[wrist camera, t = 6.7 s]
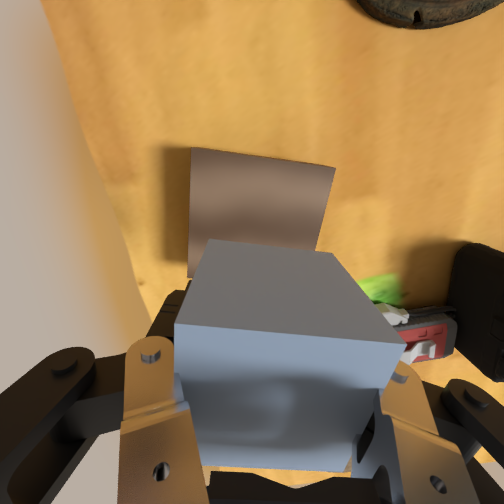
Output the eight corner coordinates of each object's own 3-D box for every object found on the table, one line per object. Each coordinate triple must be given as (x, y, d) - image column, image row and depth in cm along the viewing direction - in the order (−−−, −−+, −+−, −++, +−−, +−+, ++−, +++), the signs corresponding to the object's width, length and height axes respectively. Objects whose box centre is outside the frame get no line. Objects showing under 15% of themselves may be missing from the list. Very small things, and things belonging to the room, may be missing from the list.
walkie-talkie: (450, 286, 29) (287, 316, 31) (483, 309, 25) (293, 342, 27) (443, 340, 33) (296, 365, 34) (470, 368, 29) (303, 395, 30)
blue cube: (209, 238, 10) (174, 323, 5) (332, 253, 11) (407, 344, 6) (202, 337, 13) (172, 464, 8) (305, 346, 13) (343, 472, 8)
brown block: (200, 147, 23) (191, 147, 19) (322, 164, 24) (335, 168, 20) (195, 260, 28) (187, 277, 24) (297, 271, 29) (304, 289, 25)
